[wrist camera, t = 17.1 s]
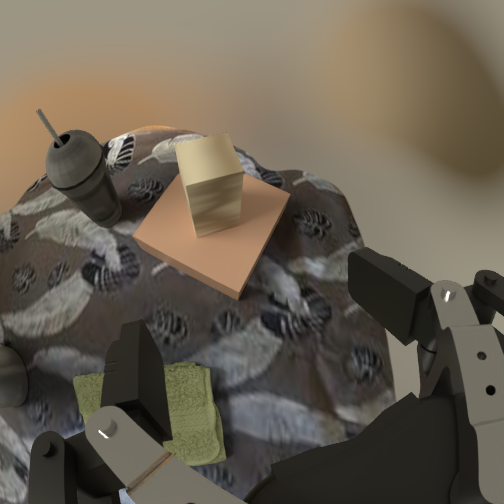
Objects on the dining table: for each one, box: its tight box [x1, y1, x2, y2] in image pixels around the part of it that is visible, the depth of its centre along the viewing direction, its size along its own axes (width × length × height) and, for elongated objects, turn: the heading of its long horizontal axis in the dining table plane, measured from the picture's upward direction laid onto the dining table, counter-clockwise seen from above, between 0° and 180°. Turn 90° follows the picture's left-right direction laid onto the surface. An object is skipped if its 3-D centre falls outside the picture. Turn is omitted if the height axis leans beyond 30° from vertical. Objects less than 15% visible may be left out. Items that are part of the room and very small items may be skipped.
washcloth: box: [73, 361, 226, 466], centre depth 25 cm, size 13×18×3 cm
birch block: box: [175, 133, 244, 238], centre depth 28 cm, size 5×5×10 cm
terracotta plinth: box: [133, 172, 290, 300], centre depth 34 cm, size 14×14×4 cm
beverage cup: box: [36, 109, 122, 228], centre depth 26 cm, size 7×7×20 cm
